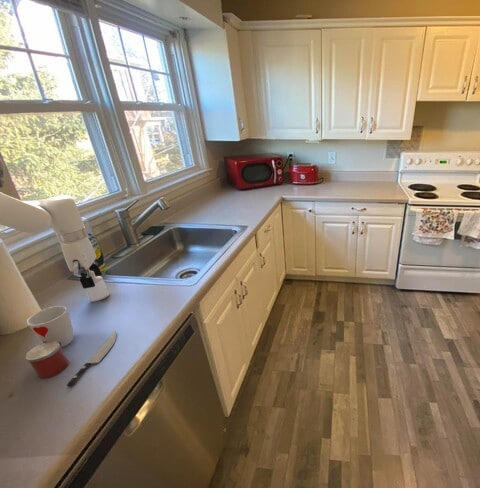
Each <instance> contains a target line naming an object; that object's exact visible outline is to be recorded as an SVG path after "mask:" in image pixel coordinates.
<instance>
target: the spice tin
mask: <svg viewBox="0 0 480 488" xmlns="http://www.w3.org/2000/svg"><path fill="white" fill-rule="evenodd" d="M25 360H27V361H28V362H29V365H31V367H32V369H33V370H34V372H35V373H36V374H37V376H38V378H40V379H49V378H52V377H54V376H56V375H58V374H60V373H62V372H63V371H64V370H65V369H66V368H67V367H68V366H69V359H68V357H67V356H66V354H65V353H64V351H63V348H62V347H60V344H59V342H57V341H48V342H45V343H43V342H42V343H40V344H38V345H35V346H34V347H32V348H31V349H30V350H29V351H28V352H27V353H26V355H25Z"/></svg>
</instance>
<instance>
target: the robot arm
mask: <svg viewBox="0 0 480 488" xmlns="http://www.w3.org/2000/svg"><path fill="white" fill-rule="evenodd" d="M0 225H1V226H4V227H7V228H10V229H14V230H16V231H20V232H23V233H26V234H37V233H38V234H39V233H42V232H44V231H45V232H46V230H48V229H49V228H50V227H51V228H52V230H53V233H54V234H55V237H56V239H57V241H58V243H59V244H60V247H61V251H62V255H63V257H64V260H65V263H66V265H67V268H68V270H69V271H70V273H73V276H74V277H76V278H77V279H78V280H79V282H80V284H81V287H82V288H83V289H84V290H85V288H91V287H95V283H94V281H93V279H92V277H91V276H89V271H88V269H90V271H94V273H95V276H101V277H102V276H103V274H102V272H101V269H100V267H99V263H98V261H97V255H96V251H95V249H94V246H93V245H92V242H91V240H90V239H89V237H90V235H89V232H88V229H87V227H86V225H85V223H84V220H83V218H82V216H81V213H80V211H79V208H78V206H77V204H76V202H75V199H74V197H72V196H70V195H56V196H50V197H47V198H44V199H37V200H36V199H35V200H20V199H18V198H15V197H13V196H10V195H8V194H5V193H4V192H1V191H0ZM83 271H84V272H83Z"/></svg>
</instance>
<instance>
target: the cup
mask: <svg viewBox="0 0 480 488" xmlns="http://www.w3.org/2000/svg"><path fill="white" fill-rule="evenodd" d="M26 324H27V325H28V327H29V328H30V329H31V331H32V332H33V333H34V335H35V336H36V337H37V339H39V340H40V341H41V342H42V343H45V342H48V341H57V342H59V344H60V347H61V348H64V347H66V346H68V345H69V344H70V343H72V342H73V340H74V328H73V323H72V318H71V317H70V314H69V312H68V309H67V307H66V306H64V305H55V306H50V307H46V308H44V309H42V310H39V311H37V312H35V313H34V314H32V315H31V316H29V318H28V319H27V320H26Z"/></svg>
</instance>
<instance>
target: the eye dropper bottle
mask: <svg viewBox="0 0 480 488" xmlns="http://www.w3.org/2000/svg"><path fill="white" fill-rule="evenodd" d="M88 271H89V276H91V277H92V279H93V281H94V283H95V287H91V288H85V289H84V290H85V292H86V295H87V296H88V299H89V301H90V302H92V303H95V302H99V301H101V300H104V299H106V298H107V297H109V296H110V292H109V289H108V287H107V284H106V282H105V280H104V278H103V277H102V275H101V276H95V273H94V271H90V269H88Z"/></svg>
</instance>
